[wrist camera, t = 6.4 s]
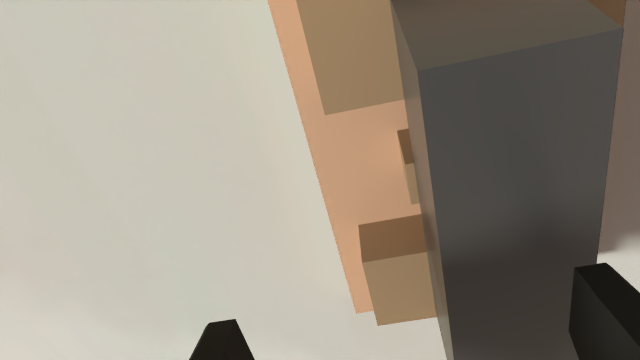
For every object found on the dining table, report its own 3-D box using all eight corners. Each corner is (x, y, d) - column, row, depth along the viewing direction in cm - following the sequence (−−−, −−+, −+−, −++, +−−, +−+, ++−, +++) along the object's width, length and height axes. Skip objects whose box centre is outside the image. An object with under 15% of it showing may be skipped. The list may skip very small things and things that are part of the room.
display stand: (579, 251, 23) (616, 315, 20) (354, 287, 24) (359, 352, 21) (617, -182, 14) (694, -176, 11) (250, -89, 15) (236, -61, 12)
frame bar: (530, 294, 20) (579, 408, 16) (435, 308, 20) (462, 423, 16) (534, -40, 13) (623, 27, 9) (389, -7, 13) (417, 70, 9)
